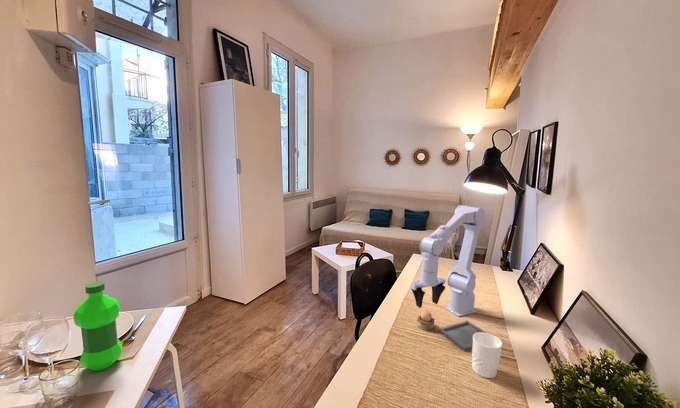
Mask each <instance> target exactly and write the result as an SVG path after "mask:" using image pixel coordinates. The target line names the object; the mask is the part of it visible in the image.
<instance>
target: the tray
mask: <svg viewBox="0 0 680 408" xmlns="http://www.w3.org/2000/svg"><path fill="white" fill-rule="evenodd" d="M478 332H484V333H488V332H487V331H485V330H483V329H482V328H481V327H478V326H476V325H475V324H474V323H472V322H470V321H469V320H465V321H461V322H457V323H455V324H450V325H447V326H444V327H439V329H438V333H440V334H441V335H443V336H444V337H445V338H447V339H448V340H449V341H451V342H452V343H453V344H455V345H456V346H457V347H459V348H460V349H462V350H463V351H465V352H467V351H470V350H472V343H473V335H474V334H475V333H478Z"/></svg>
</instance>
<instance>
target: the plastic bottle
mask: <svg viewBox="0 0 680 408" xmlns="http://www.w3.org/2000/svg"><path fill="white" fill-rule="evenodd" d="M105 285H106V284H105V282H104V281H102V280H101V281H94V282H90V283H88V284H86V285H85V293H86V294H87V295H88V297H86V299H84V300H83V301H82V302H81V303H80V304H79V305H77V307H76V309H75V311H74V314H73V322H74V324H75V326H77V327H79V328H80V330H81V331H80V332H81V339H82V347H83V350H82V352H81V355H80V358H79V362H80V365H82V366H83V367H84V368H86V369H88V370H91V371H95V372H96V371H97V372H99V371H104V370H106V369H108V368H110V367H111V366H112V365H114V363H115V362H116V361H117V360H118V359H120V357H121V355H122V352H123V351H122V350H123V343H122V342H121V340H120V339H119V338H118V330H117V328H118V327H117V319H118V318H119V314H120V308H121V305H120V304H121V303H120V302H119V300H118V299H116V298H115V297H112V296H109V295H108V294H104V290H105V289H106V287H105Z"/></svg>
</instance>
